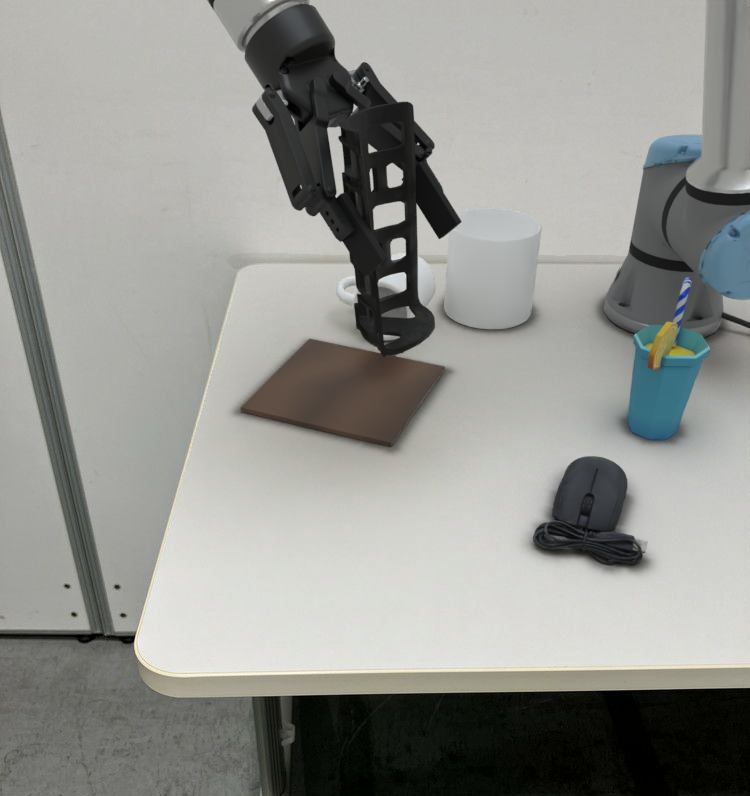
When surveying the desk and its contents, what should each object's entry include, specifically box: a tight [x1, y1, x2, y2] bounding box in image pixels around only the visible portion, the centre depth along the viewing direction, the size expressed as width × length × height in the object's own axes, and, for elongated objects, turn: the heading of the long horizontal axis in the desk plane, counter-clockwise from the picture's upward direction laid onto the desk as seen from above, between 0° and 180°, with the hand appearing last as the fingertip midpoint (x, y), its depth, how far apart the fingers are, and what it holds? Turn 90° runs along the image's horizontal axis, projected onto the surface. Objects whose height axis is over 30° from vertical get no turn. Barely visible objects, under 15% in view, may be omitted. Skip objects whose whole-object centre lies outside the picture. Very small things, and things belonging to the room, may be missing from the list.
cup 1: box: [443, 207, 543, 331], centre depth 121 cm, size 12×12×12 cm
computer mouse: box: [532, 455, 648, 566], centre depth 88 cm, size 10×15×4 cm
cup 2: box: [626, 277, 711, 441], centre depth 98 cm, size 14×8×15 cm, turn 158°
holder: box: [337, 101, 436, 357], centre depth 83 cm, size 11×8×20 cm
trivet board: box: [240, 338, 446, 448], centre depth 107 cm, size 18×18×1 cm
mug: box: [335, 252, 437, 341], centre depth 119 cm, size 12×10×8 cm
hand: (415, 248), depth 82 cm, fingers closed on holder, 10 cm apart
